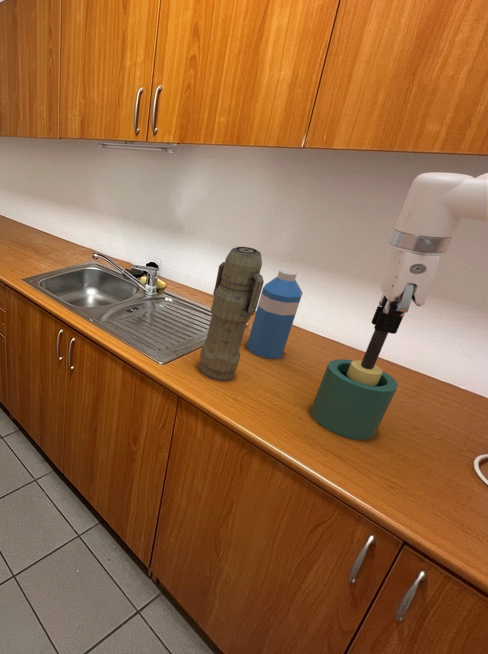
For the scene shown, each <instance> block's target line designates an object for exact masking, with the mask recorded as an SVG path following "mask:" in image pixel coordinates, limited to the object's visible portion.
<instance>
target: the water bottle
mask: <svg viewBox="0 0 488 654" xmlns="http://www.w3.org/2000/svg"><path fill="white" fill-rule="evenodd" d="M297 275H298V272H296V271H295V270H291V269H287V268H285V269H284V268H282V269H281V268H280V269H279V271H278V273H277V276H276V277H274V278H273V279H271V280H270V281H268V282H267V283H265V284H264V285H263V287H262V290H261V294H260V297H259V301H258V304H257V308H256V310H255V313H254V319H253V321H252V325H251V328H250V329H251V330H250V333H249V335H248V339H247V343H246V346H245V347H246V349H247V350H249V352H251V353H252V354H253V355H255V356H258V357H262V358H265V359H268V360H272V359H273V360H274V359H277V360H278V359H282V357H283V354H284V352H285V349H286V346H287V342H288V339H289V337H290V333H291V330H292V326H293V324H294V321H295V318H296V314H297V311H298V308H299V304H300V302H301V300H302V296H303V290H302V288H301V287H300V285H299V283H298V281H297V280H296V278H297Z"/></svg>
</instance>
